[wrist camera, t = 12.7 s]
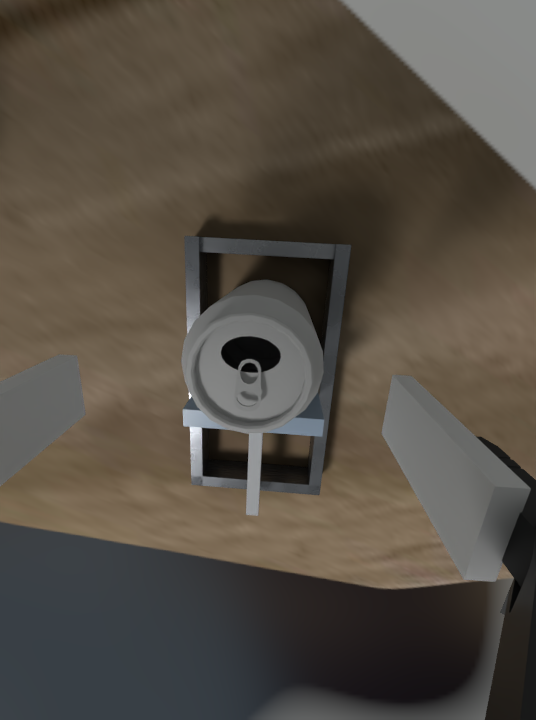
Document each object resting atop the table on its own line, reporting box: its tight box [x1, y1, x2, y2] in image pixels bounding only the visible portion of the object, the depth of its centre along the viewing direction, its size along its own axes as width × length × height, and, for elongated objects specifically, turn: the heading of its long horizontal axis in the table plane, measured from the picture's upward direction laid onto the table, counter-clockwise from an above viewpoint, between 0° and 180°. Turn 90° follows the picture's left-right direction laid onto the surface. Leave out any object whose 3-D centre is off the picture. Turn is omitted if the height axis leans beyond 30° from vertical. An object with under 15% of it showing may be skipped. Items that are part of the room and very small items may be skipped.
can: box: [181, 279, 324, 433], centre depth 21 cm, size 8×8×12 cm
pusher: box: [183, 393, 324, 516], centre depth 26 cm, size 9×11×8 cm
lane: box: [185, 236, 351, 495], centre depth 27 cm, size 12×21×2 cm, turn 177°
